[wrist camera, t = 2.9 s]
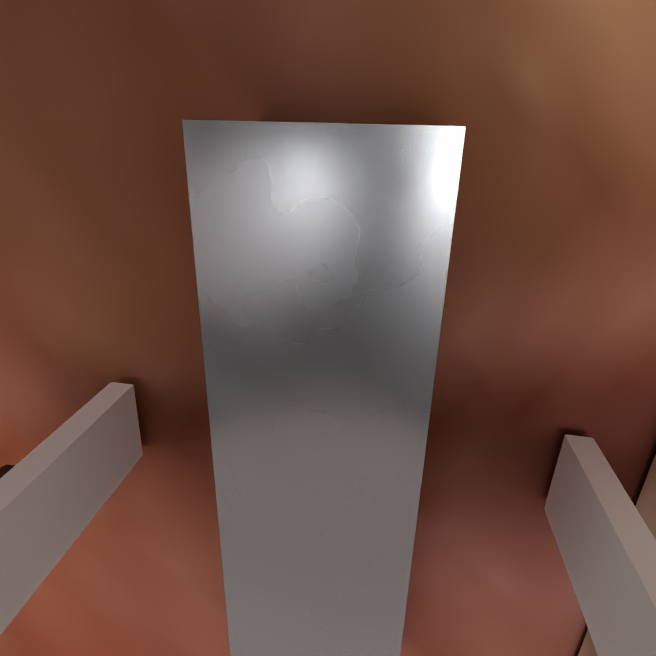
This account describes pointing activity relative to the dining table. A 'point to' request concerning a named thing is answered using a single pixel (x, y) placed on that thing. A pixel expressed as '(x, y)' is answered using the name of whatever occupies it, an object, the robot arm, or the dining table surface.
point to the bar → (319, 366)
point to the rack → (652, 508)
